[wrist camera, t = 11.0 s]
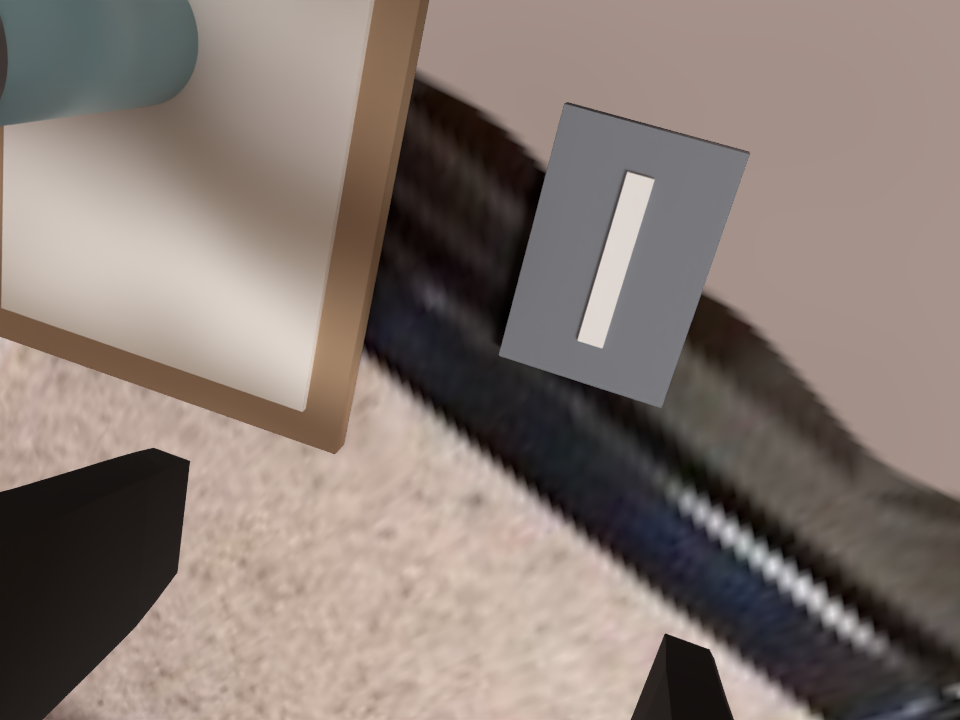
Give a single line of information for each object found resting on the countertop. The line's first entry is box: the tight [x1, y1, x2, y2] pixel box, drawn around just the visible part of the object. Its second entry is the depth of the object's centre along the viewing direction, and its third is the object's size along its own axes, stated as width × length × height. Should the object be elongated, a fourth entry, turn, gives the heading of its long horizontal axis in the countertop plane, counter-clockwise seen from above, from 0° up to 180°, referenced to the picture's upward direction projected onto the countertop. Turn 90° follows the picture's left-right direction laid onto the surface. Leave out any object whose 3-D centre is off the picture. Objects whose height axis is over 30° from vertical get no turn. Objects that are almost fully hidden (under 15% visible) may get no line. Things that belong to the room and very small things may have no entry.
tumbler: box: [0, 0, 198, 126], centre depth 18 cm, size 3×3×7 cm
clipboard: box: [0, 0, 429, 454], centre depth 22 cm, size 14×11×1 cm
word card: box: [499, 102, 750, 408], centre depth 20 cm, size 6×4×1 cm, turn 167°
